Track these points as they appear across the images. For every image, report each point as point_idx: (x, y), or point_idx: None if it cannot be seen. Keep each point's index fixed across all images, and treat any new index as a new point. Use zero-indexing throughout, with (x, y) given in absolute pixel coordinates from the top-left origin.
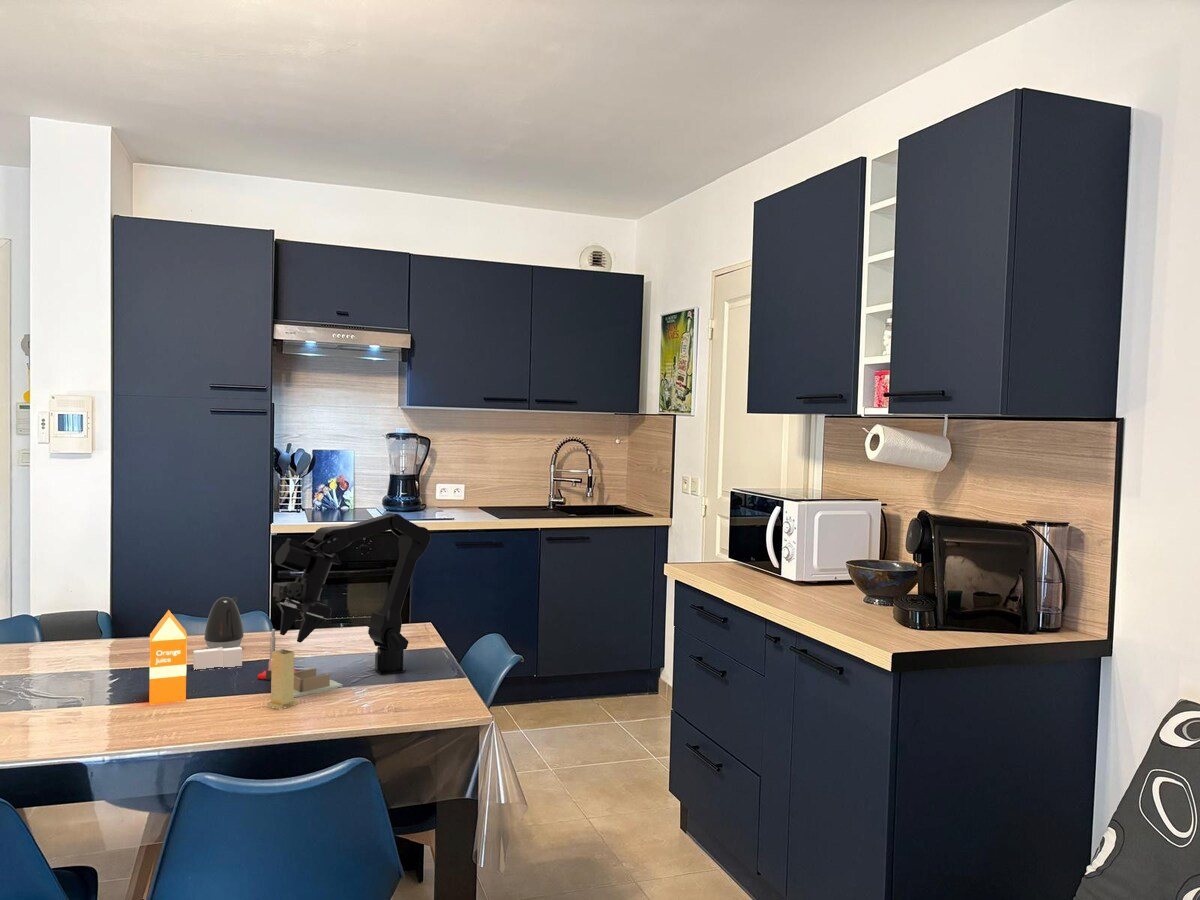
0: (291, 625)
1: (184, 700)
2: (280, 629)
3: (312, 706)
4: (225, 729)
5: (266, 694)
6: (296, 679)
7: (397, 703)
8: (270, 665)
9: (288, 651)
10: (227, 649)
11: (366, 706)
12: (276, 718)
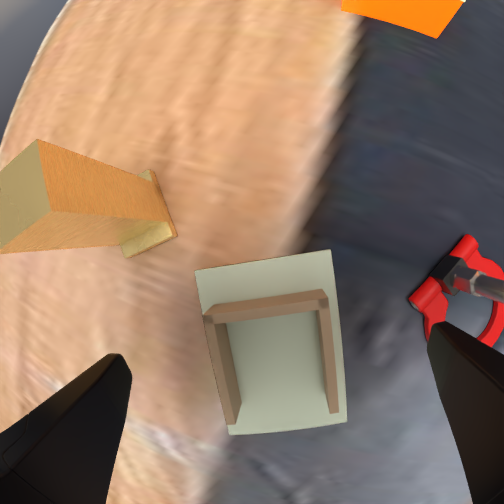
0: (454, 438)
1: (341, 7)
2: (466, 336)
3: (96, 288)
4: (71, 67)
5: (287, 204)
6: (241, 309)
7: None
8: (463, 273)
9: (6, 228)
10: None
11: (56, 388)
12: None
